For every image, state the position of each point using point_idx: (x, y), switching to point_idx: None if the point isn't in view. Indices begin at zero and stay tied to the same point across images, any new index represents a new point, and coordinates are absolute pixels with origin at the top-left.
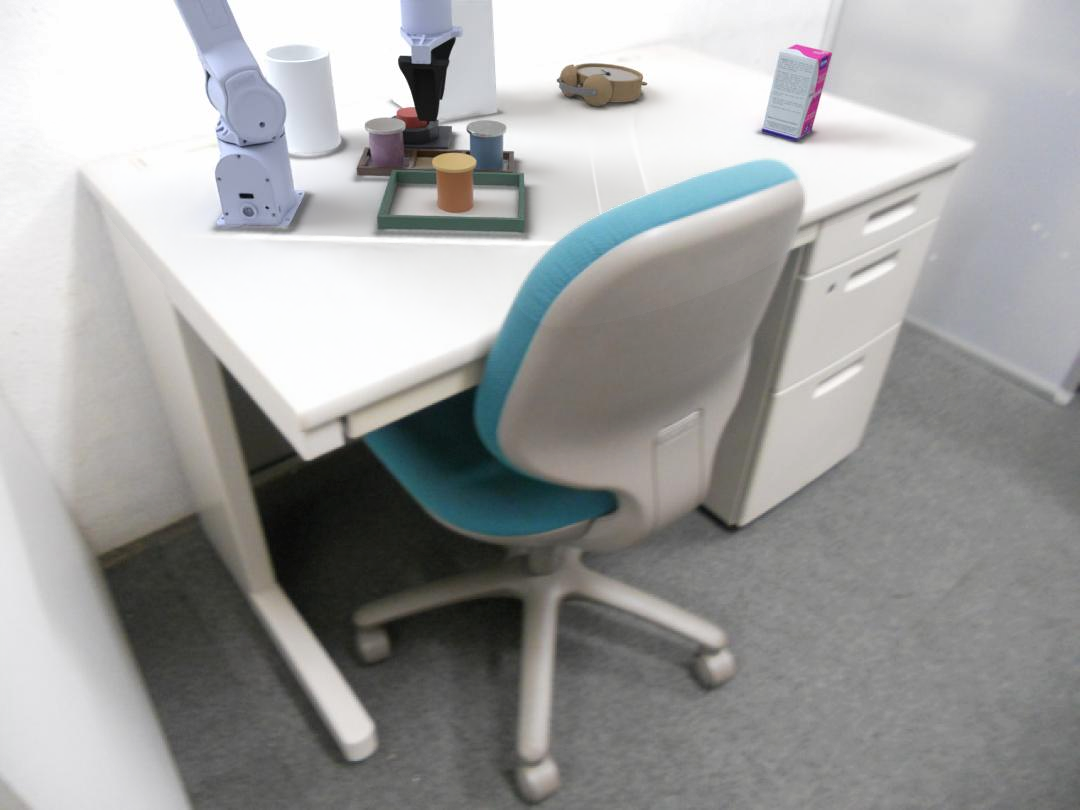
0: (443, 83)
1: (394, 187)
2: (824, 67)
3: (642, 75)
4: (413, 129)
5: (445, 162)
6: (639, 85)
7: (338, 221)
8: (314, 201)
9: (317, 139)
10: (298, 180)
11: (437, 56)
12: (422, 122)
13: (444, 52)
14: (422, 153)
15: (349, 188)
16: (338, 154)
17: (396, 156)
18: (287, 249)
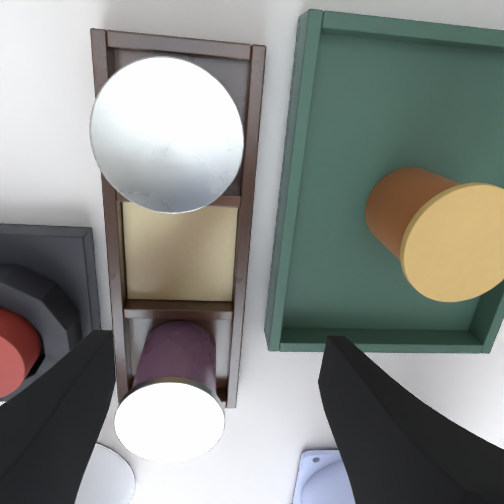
0: (91, 365)
1: (321, 333)
2: None
3: None
4: (54, 339)
5: (469, 269)
6: None
7: None
8: (326, 434)
9: (115, 491)
10: (238, 467)
11: (38, 495)
12: (11, 324)
13: (21, 490)
14: (124, 293)
15: (275, 396)
16: (109, 435)
17: (207, 352)
18: (484, 436)
